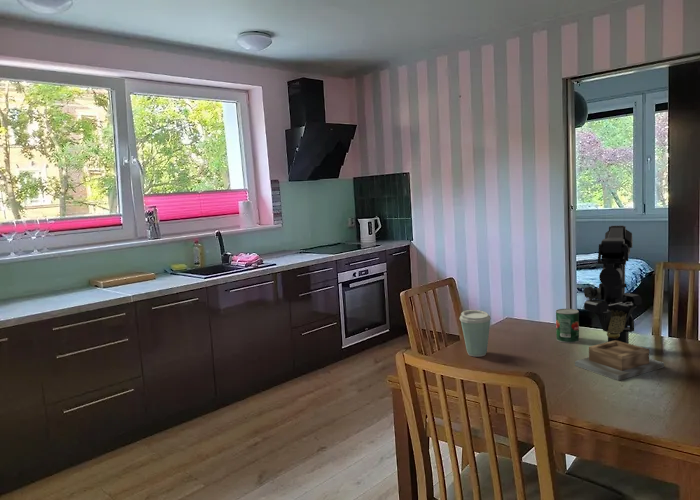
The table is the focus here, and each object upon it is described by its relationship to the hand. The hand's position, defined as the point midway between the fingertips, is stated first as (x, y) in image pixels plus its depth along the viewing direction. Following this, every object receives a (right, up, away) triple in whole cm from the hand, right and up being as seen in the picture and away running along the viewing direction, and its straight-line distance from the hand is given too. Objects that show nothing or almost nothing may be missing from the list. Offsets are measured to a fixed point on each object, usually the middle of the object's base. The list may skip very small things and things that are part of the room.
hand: (613, 329), depth 167 cm
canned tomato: (-2, -9, +31) cm, 32 cm away
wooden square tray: (+2, -12, +1) cm, 12 cm away
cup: (0, -3, 0) cm, 3 cm away
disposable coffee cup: (-38, -12, +21) cm, 45 cm away
